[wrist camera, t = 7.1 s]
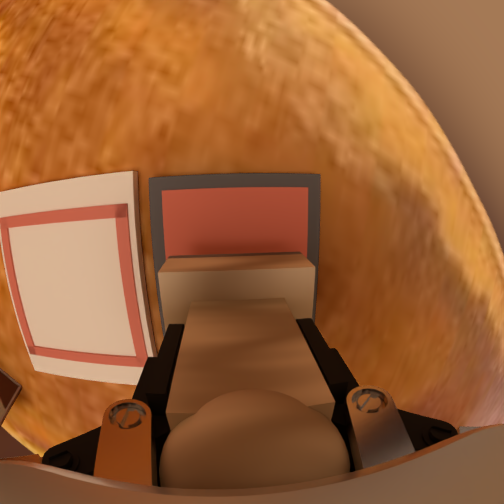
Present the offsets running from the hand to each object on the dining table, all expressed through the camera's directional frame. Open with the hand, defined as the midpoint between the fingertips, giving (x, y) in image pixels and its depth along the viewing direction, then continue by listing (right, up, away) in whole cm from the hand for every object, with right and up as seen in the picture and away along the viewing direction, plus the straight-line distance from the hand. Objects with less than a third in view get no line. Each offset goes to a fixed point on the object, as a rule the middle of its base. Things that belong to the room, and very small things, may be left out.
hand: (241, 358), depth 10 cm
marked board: (-13, +1, +7) cm, 15 cm away
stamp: (0, +1, +4) cm, 4 cm away
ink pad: (-1, +2, +8) cm, 9 cm away
